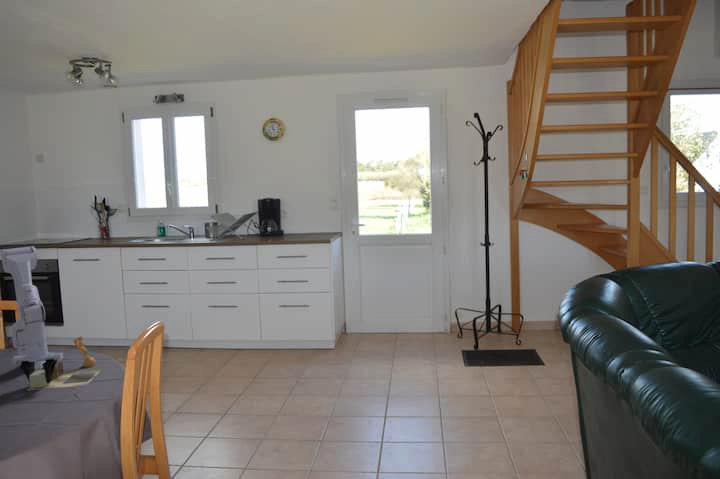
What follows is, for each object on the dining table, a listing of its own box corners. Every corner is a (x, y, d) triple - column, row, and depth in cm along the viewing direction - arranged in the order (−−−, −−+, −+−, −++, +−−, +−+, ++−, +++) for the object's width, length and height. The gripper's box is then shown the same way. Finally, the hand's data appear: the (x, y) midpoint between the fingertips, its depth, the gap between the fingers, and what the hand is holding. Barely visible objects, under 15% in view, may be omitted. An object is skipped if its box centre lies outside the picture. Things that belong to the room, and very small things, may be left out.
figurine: (95, 371, 187) (91, 337, 185) (76, 374, 184) (72, 340, 183) (96, 363, 194) (93, 331, 192) (78, 366, 192) (74, 334, 190)
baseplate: (47, 376, 183) (46, 373, 183) (102, 372, 185) (102, 368, 185) (26, 393, 169) (26, 389, 169) (86, 389, 171) (85, 385, 171)
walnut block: (49, 373, 182) (48, 362, 182) (63, 372, 183) (62, 361, 182) (43, 379, 178) (42, 367, 177) (57, 378, 178) (56, 366, 178)
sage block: (37, 382, 175) (36, 370, 174) (52, 381, 175) (50, 369, 175) (30, 387, 171) (29, 375, 170) (45, 386, 171) (44, 374, 170)
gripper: (5, 347, 166) (10, 389, 168) (54, 344, 168) (59, 385, 170) (16, 340, 173) (22, 380, 175) (64, 337, 175) (68, 377, 177)
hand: (41, 382), depth 173 cm, fingers closed on sage block, 4 cm apart
